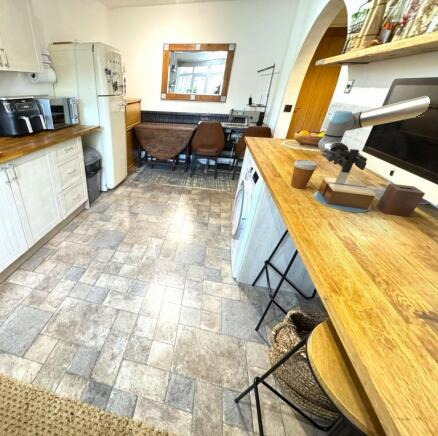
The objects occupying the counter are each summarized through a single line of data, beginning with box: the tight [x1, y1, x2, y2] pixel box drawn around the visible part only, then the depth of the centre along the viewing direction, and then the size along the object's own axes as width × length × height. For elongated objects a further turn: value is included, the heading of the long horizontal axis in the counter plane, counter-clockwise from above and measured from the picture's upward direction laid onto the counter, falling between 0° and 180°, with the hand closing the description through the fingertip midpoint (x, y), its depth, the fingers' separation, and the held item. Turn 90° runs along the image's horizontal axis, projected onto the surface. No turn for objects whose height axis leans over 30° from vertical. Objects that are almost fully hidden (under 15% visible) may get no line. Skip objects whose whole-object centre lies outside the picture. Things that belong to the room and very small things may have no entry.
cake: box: [313, 176, 377, 214], centre depth 101 cm, size 20×20×8 cm
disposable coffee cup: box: [290, 159, 318, 190], centre depth 113 cm, size 10×10×12 cm
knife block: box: [376, 183, 426, 218], centre depth 93 cm, size 8×7×10 cm
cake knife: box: [335, 148, 360, 185], centre depth 98 cm, size 3×2×21 cm, turn 71°
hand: (354, 165), depth 91 cm, fingers open, 5 cm apart
